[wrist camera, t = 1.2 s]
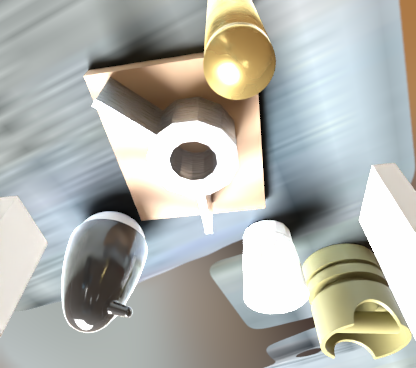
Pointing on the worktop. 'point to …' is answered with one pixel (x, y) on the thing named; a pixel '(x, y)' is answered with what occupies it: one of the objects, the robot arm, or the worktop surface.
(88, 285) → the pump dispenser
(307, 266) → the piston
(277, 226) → the white cup
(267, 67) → the pin
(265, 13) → the worktop surface
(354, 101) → the worktop surface
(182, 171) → the white piece
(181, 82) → the mount board
